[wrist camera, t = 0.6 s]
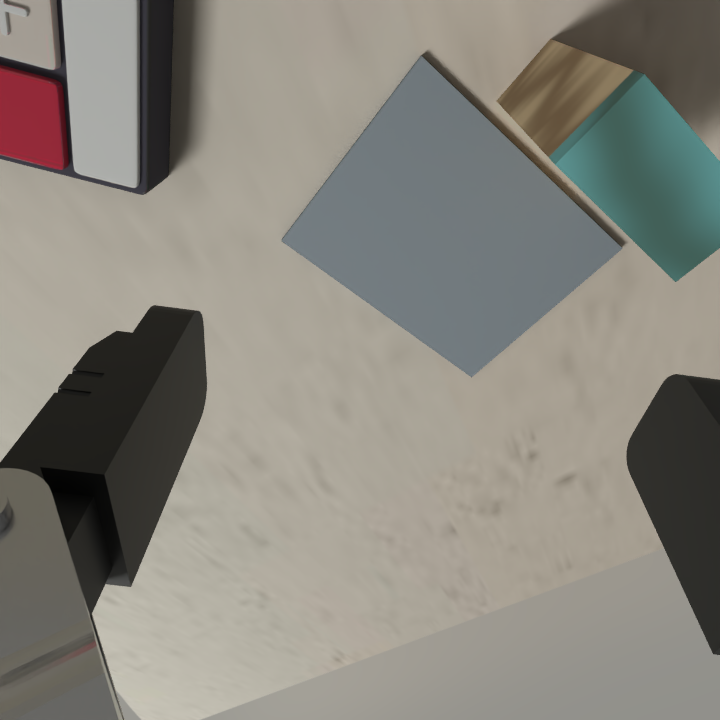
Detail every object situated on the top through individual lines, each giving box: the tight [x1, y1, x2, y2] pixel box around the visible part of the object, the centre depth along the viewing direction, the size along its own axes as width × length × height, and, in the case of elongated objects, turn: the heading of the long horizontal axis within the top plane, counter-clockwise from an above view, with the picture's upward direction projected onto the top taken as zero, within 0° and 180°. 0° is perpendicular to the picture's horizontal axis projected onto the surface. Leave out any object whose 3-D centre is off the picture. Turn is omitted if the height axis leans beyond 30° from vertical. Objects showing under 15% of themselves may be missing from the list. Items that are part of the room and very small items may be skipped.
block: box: [497, 39, 720, 282], centre depth 27 cm, size 4×8×13 cm, turn 51°
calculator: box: [0, 0, 174, 195], centre depth 30 cm, size 11×4×15 cm
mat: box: [282, 56, 622, 377], centre depth 37 cm, size 14×18×1 cm
